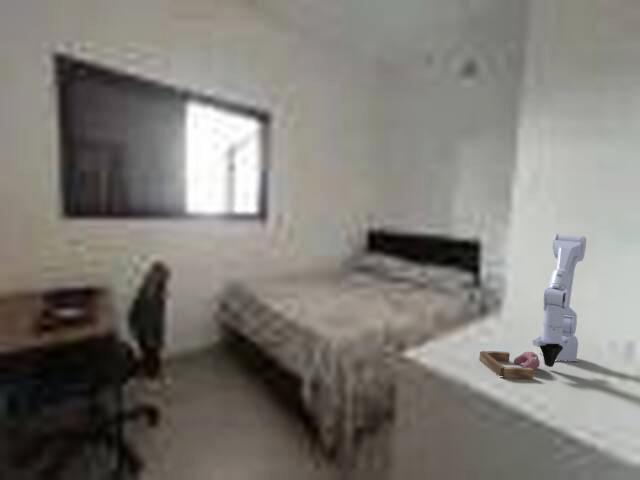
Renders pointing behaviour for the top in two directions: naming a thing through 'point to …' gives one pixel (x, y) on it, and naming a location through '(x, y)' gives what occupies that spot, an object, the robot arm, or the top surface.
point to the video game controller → (528, 360)
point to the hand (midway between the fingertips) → (548, 365)
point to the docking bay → (492, 362)
